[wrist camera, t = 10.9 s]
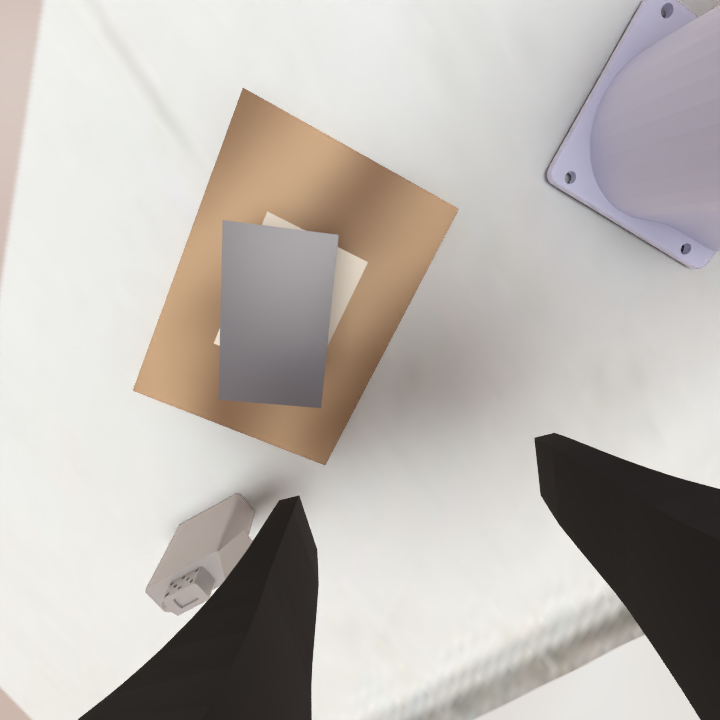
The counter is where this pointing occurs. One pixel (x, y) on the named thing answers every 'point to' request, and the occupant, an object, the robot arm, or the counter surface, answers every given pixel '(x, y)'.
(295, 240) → the block
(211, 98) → the counter surface
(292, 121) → the board
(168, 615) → the counter surface
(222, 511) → the lighter
